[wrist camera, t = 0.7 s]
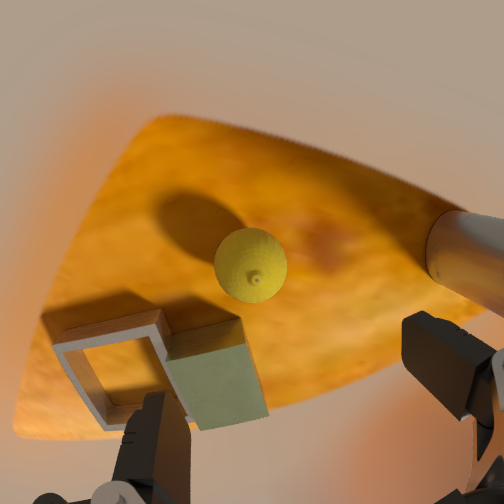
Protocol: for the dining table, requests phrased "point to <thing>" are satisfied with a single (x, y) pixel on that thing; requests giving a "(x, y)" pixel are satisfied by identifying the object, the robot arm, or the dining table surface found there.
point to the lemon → (250, 265)
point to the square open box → (173, 369)
